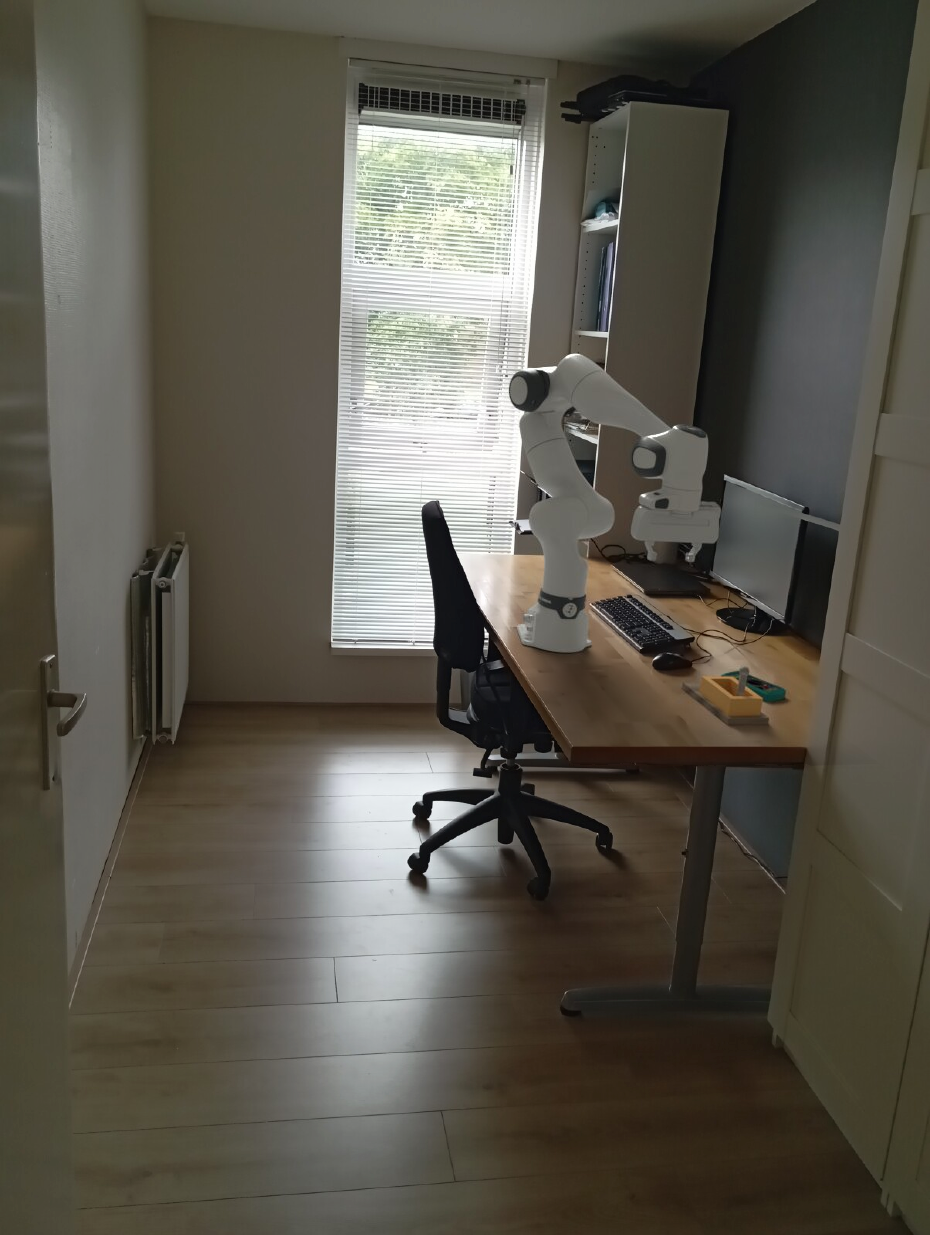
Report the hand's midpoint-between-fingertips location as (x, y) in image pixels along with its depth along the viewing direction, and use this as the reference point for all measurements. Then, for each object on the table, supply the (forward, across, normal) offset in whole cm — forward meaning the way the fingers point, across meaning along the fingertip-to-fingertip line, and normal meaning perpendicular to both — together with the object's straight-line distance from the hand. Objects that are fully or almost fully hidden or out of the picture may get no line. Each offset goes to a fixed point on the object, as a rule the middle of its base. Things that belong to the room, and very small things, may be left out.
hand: (670, 560), depth 230 cm
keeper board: (+31, -13, +11) cm, 35 cm away
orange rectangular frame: (+29, -13, +14) cm, 35 cm away
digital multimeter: (+32, -26, +1) cm, 41 cm away
